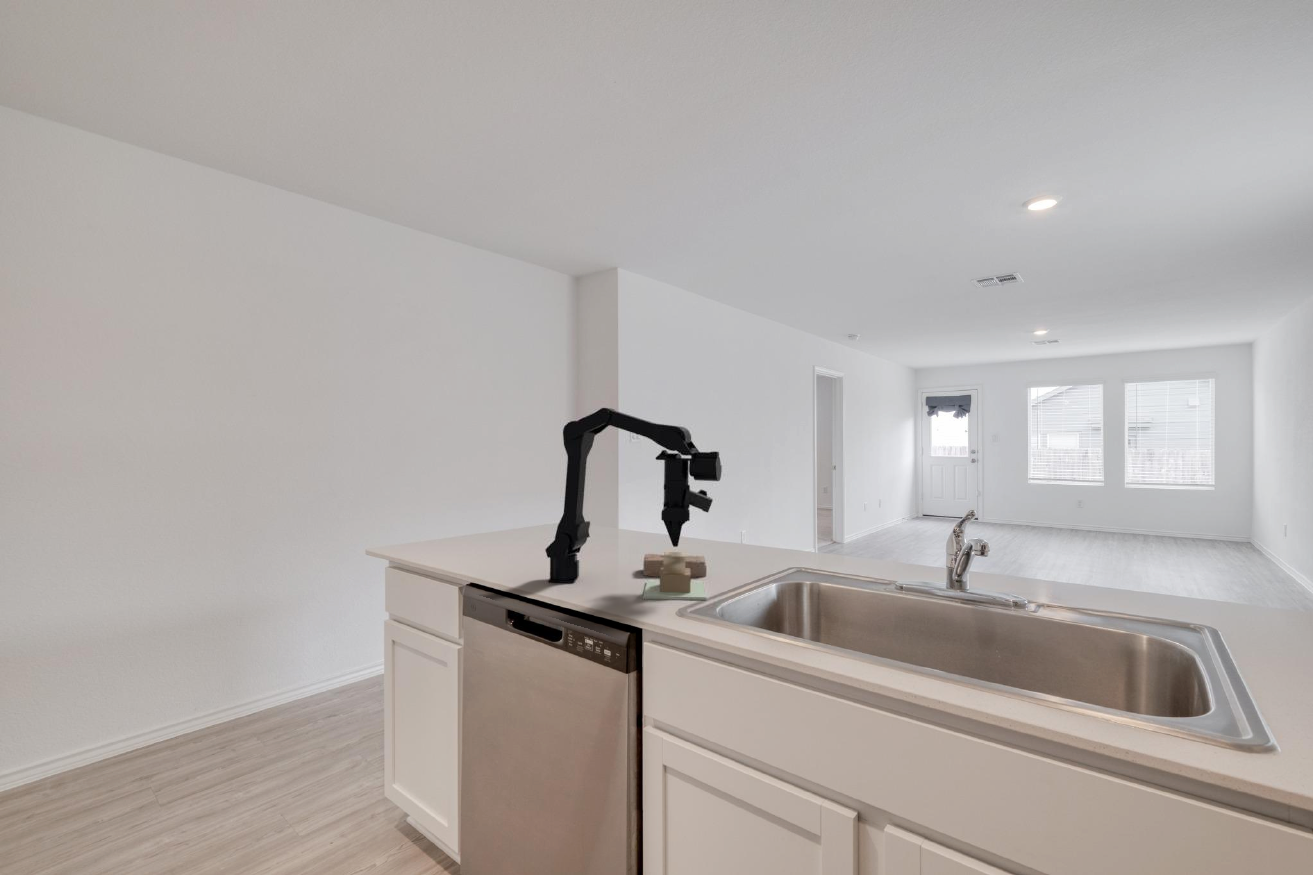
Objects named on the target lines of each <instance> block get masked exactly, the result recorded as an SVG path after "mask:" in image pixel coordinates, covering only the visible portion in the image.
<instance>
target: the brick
mask: <svg viewBox="0 0 1313 875" xmlns="http://www.w3.org/2000/svg"><path fill="white" fill-rule="evenodd" d="M663 562H664V554H658V553H645V555H644V559H643V565H642V566H643V574H644V575H645V576H650V577H651V576H652V577H660V571H661V568H663ZM685 568H690V574H691V578H695V577H698V578H699V577H701V578H703V577H704V578H705V577H707V563H706V559H705V556H704V555H685Z"/></svg>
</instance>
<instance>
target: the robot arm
mask: <svg viewBox="0 0 1313 875" xmlns="http://www.w3.org/2000/svg"><path fill="white" fill-rule="evenodd" d="M609 426H610V427H613V428H617V429H620V430H622V431H623V430H624V431H626V432H629V433H632V434H634V435H637V436H642V437H643V438H647V439H649V440H651V441H653V442H654V443H655V444H657V445H659V446H660V447H663V448H664V449H662V450H661V452H660V453H659V454H658V455H657V456H655V460H656V461H664V464H663V465H664V468H663V474H664V475H663V507H662V508H663V509H661V514H660V516H661V517H660V518H661V521H663V523H664V526H665V528H666V531H667V534H668V537H669V539H670V541H671V544H672V546H673V547H674V548H675V547H676V548H678V546H679V542H680V538H681V532H682V529H683V525H684V524H686V523H687V522H689V521H690V514H691V512H690V507H694V508H697V509H700V510H702V512H704V513H709V512H710V509H711V506H712V503H713V501H714V500H713V498H712V497H710V496H708V491H707V490H704V489H702V488H700V490H698V491H694V490H691V486H690V484H689V476H690V477H692V478H693V480H694V481H698V482H699V481H700V482H701V481H702V482H703V481H704V482H705V481H707V482H720V480H721V479H722V478H721V477H722V467H723V466H722V464H721V463H722V462H721V459H720V452H719V451H709V452H708V451H707V452H706V451H700V450H699V448H697V446H696V445H695V444H694V442H693V441H692V434H691V432H690V430H689V429H688V428H686V427H684V426H680V425H671V424H663V423H662V424H661V423H656V422H652V421H648V420H646V419H643V418H640V417H636V416H633V415H631V414H630V415H629V414H627V413H624V412H620V411H617V410H615V409H614V408H609V407H602V408H600V409H599V410H597V411H595V412H594V413H591V414H589V415H586V416H584V417H581V418H580V419H578V420H571V421H569V422H567V423H566V424H565V425H564V427H563V430H562V440H563V447H564V449H565V453H566V455H567V463H566V464H567V465H566V474H565V476H566V477H565V478H566V479H565V491H564V502H563V503H564V504H563V513H562V517H561V518H560V520H559V522H558V523H557V524H558V525H557V527H556V532H555V536H554V540H553V541H552V542H551V543H550V544H549V545H548V546H547V547H546V548H545V549H544V550H545V553H546V557H547V558H548V559H549V578H548V580H547V582H548V583H568V584H569V583H571V584H572V583H576V581H577V579H578V578H579V577H580V560H579V559H578V554H579V553H580V551H581V549H582V547H583V546H584V545H585V544H586V542H587V541H588V538H590V527H591V521H589V520H588V521H587V520H585V517H584V513H583V512H584V498H585V488H586V487H585V486H586V476H587V474H586V472H587V462H588V461H587V460H588V456H589V455H590V452H591V450H592V448H593V445H594V442H595V437H596V436H597V435H599V434H600V433H603V431H604V430H606V429H608V427H609ZM668 451H670V452H668ZM671 451H672V452H671ZM674 452H675V453H674ZM676 452H677V453H676ZM682 456H690V457H682Z"/></svg>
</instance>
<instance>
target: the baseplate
mask: <svg viewBox="0 0 1313 875" xmlns="http://www.w3.org/2000/svg"><path fill="white" fill-rule="evenodd" d="M691 578H692V577H691V574H690V568H685V574H663V568H661V571H660V576H659V580H651V579H650V580H646V584H645V588H644V590H643V591H644V592H643V596H642V598H643V599H645V600H647V599H648V600H685V601H686V600H689V601H692V600H693V601H707V592H706V586H705V585H706V584H705V581H699V580H697V581H695V580H693V581H692V580H691Z"/></svg>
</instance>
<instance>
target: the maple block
mask: <svg viewBox="0 0 1313 875" xmlns="http://www.w3.org/2000/svg"><path fill="white" fill-rule="evenodd" d="M663 555H664V562H663V574H685V556H686V552H682V551H664V552H663Z"/></svg>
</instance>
